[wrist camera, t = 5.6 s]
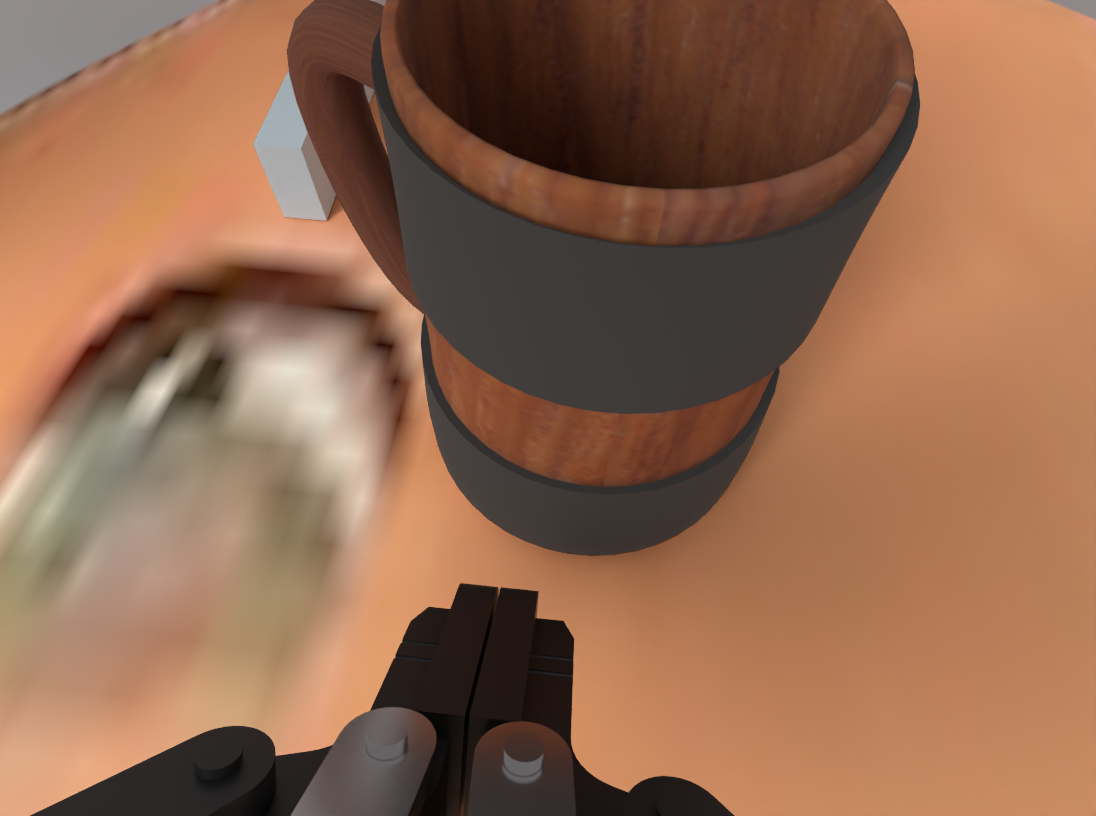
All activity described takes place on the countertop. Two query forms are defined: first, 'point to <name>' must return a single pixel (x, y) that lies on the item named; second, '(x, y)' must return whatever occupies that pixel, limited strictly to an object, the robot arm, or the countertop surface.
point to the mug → (606, 226)
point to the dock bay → (294, 158)
